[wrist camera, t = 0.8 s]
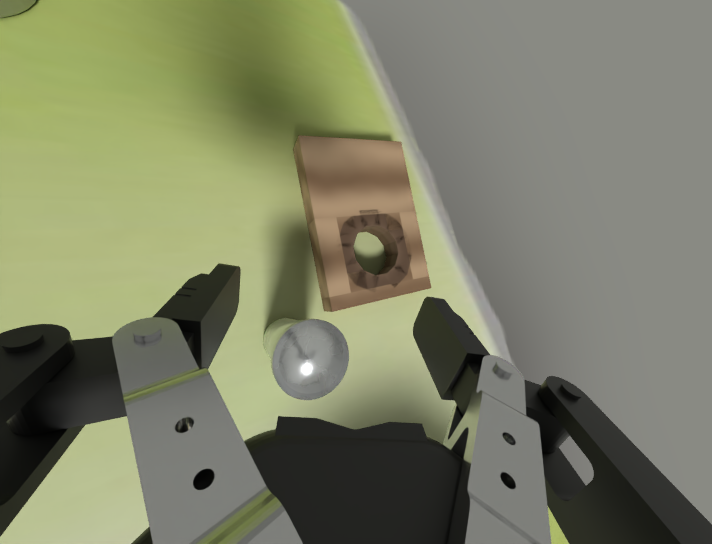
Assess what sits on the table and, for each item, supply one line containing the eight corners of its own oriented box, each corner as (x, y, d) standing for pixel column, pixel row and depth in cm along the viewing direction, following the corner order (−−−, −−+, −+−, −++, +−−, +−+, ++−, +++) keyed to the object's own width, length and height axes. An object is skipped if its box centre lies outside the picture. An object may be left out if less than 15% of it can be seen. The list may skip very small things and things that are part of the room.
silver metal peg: (254, 320, 28) (265, 330, 17) (304, 309, 30) (341, 311, 19) (264, 370, 28) (280, 412, 17) (312, 355, 30) (355, 384, 19)
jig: (293, 149, 32) (298, 135, 29) (389, 153, 38) (400, 141, 35) (324, 311, 31) (332, 311, 29) (417, 289, 37) (431, 287, 34)
